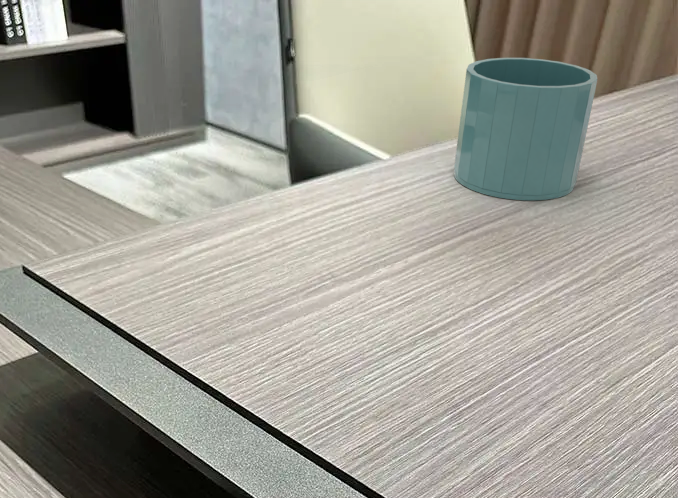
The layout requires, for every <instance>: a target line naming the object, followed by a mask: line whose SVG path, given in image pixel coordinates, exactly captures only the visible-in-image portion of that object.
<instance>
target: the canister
mask: <svg viewBox="0 0 678 498" xmlns="http://www.w3.org/2000/svg"><path fill="white" fill-rule="evenodd" d="M597 84H598V75H597V74H596V73H595V72H593V71H592V70H590V69H588V68H586V67H582V66H579V65H577V64H572V63H567V62H562V61H557V60H549V59H542V58H529V57H497V58H496V57H495V58H494V57H493V58H487V59H480V60H476V61H473V62H471V63H469V64H468V65H467V68H466V71H465V79H464V86H463V93H462V103H461V110H460V117H459V118H460V119H459V125H458V126H459V127H458V133H457V141H456V142H457V143H456V150H455V158H454V164H453V165H454V166H453V176H454V179H455V180H456V181H457V182H458V183H459V184H460V185H462V186H463V187H465V188H467V189H469V190H471V191H473V192H476V193H480V194H483V195H485V196H486V195H487V196H490V197H494V198H498V199H499V198H500V199H506V200H516V201H546V200H547V201H548V200H553V199H558V198H561V197H565V196H567V195H568V194H570V193H572V192H573V191H574V190H575V188H576V187H575V186H576V184H577V180H578V177H579V176H578V174H579V170H580V166H581V161H582V157H583V152H584V147H585V141H586V136H587V133H588V127H589V122H590V118H591V112H592V108H593V103H594V99H595V93H596V89H597Z"/></svg>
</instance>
